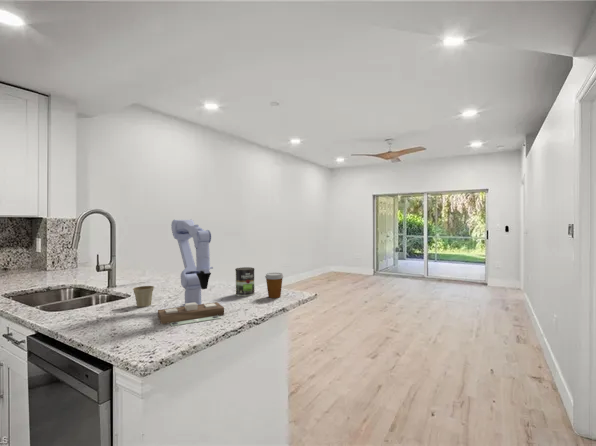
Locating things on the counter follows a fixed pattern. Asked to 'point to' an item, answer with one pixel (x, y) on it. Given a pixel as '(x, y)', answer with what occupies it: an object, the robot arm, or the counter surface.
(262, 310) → the counter surface
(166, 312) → the cream square block
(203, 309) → the brown flat rectangular frame
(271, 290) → the disposable coffee cup
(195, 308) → the button middle
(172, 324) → the pattern card
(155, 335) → the counter surface
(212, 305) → the white square block
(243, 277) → the coffee can
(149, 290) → the flower pot
